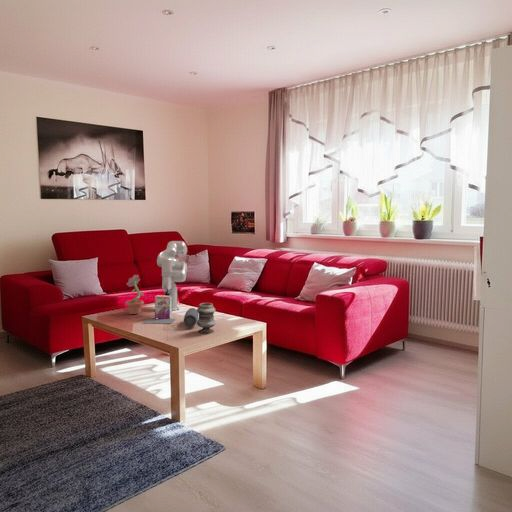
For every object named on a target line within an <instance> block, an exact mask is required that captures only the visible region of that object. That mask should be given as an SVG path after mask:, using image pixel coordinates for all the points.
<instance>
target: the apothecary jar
mask: <svg viewBox="0 0 512 512" xmlns="http://www.w3.org/2000/svg"><path fill="white" fill-rule="evenodd" d="M196 310H197V312H198V320H197V322H196V325H197V326H198V327H200V329H199V330H198V333H200V334H212V333H214V329H213V327H214V326H215V325H216V320H215V318H214V317H215V316H214V313H215V312H216V308H215V307H214V305H213V303H211V302H202V303H199V305H198V307H197V308H196Z"/></svg>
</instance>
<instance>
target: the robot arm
mask: <svg viewBox="0 0 512 512" xmlns="http://www.w3.org/2000/svg"><path fill="white" fill-rule="evenodd" d="M187 254H188V247H187V244H186V242H184V241H183V240H171V241H169V242H167V246H166V249H164V250H163V251H161V252H160V253H158V255H157V258H156V263H157V266H158V267H161V277H162V281H161V283H162V284H161V290H162V291H164V296H172V310H173V311H177V310H176V309H178V310H180V307H179V306H178V287H177V284H176V283H175V282H177V283H178V282H179V283H180V282H185V281H186V278H187V272H188V266H187V265H188V264H187V263H186V262H185V261H180V260H179V258H178V257H177V256H186V255H187Z"/></svg>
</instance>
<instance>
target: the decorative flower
mask: <svg viewBox="0 0 512 512" xmlns="http://www.w3.org/2000/svg"><path fill="white" fill-rule="evenodd" d="M140 281H141V278H140V276H139V274H134V275H133V276H132V277H129V278H128V282H126V283H125V284H126V286H128V288H129V287H133V286H134V289H132V291H131V293H134V292H135V291H136V293H137V296H136V297H134V298H133V299H131V300H127V301H125V302H124V305H125V306H127V309H128V314H129V315H130V314H137V315H140V314H141V312H142V305H144V304H145V302H144V301H143V300H142V299H140V297H141V296H145V294H144V293H143V292H141V291H140V290H139V287H138V286H137V285H138V284H139V282H140Z"/></svg>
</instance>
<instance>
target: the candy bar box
mask: <svg viewBox="0 0 512 512" xmlns="http://www.w3.org/2000/svg"><path fill="white" fill-rule="evenodd" d="M172 312H173V311H172V296H165V295H161V294H160V295H159V294H158V295H155V297H154V318H155V319H156V318H158V319H172V318H171V317H173V316H172V315H173V314H172Z"/></svg>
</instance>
